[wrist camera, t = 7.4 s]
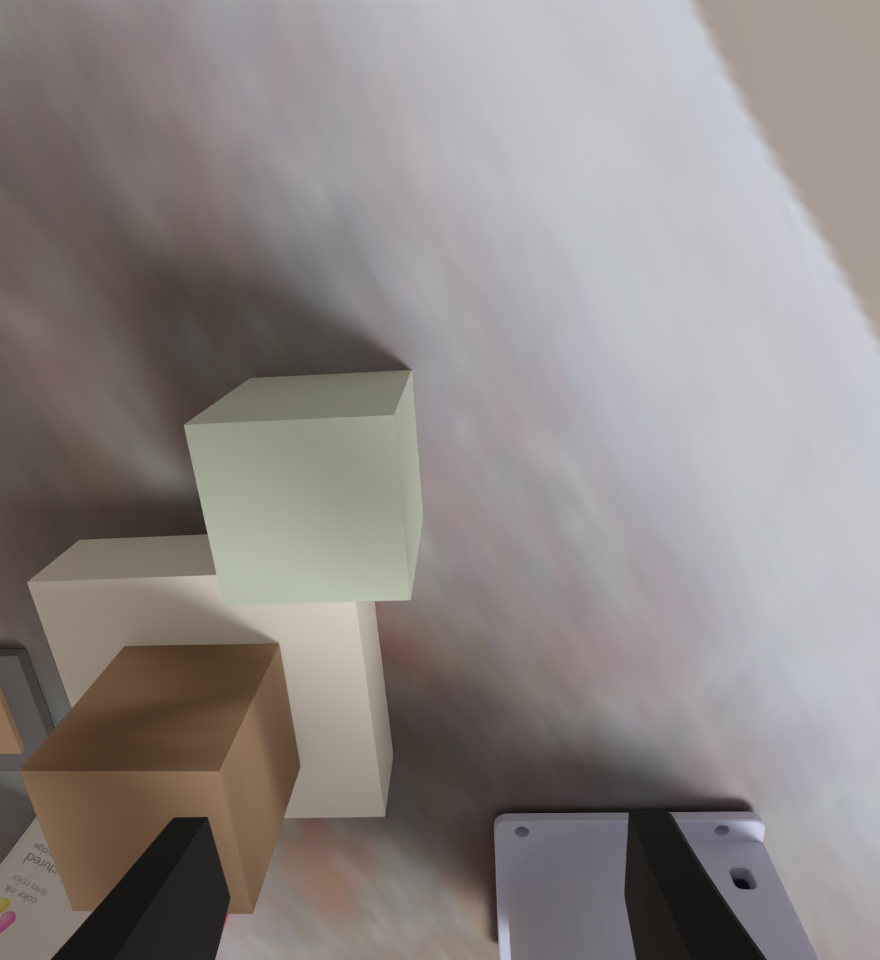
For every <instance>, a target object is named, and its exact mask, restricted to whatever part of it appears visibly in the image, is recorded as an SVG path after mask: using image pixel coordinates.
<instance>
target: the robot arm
mask: <svg viewBox="0 0 880 960" xmlns="http://www.w3.org/2000/svg"><path fill="white" fill-rule="evenodd" d="M520 827H522V828H520ZM764 831H765V826H764V823H763V821H762V819H761V818H760V816H759V815H758V814H756V813H754V812H668V811H667V810H629V813H507V814H502V815H500V816H498V817H497V818H496V819H495V821H494V842H495V867H496V893H497V919H498V945H499V958H500V960H819V959H818V957H817V955H816V953H815V951H814V949H813V947H812V945H811V943H810V941H809V938H808V936H807V934H806V932H805V930H804V928H803V926H802V924H801V922H800V920H799V917H798V915H797V913H796V911H795V909H794V907H793V905H792V903H791V901H790V899H789V896H788V894H787V892H786V890H785V888H784V886H783V884H782V882H781V880H780V878H779V875H778V873H777V871H776V869H775V867H774V865H773V863H772V861H771V859H770V857H769V855H768V852H767V850H766V848H765V846H764V844H763V843H762V842H763V837H764ZM230 898H231V897H230V893H229V890H228V886H227V883H226V879H225V876H224V872H223V869H222V865H221V862H220V858H219V855H218V851H217V847H216V844H215V840H214V837H213V833H212V830H211V826H210V823H209V819H208V817H174V818H173V819H172V820H171V821H170V822H169V823H168V824H167V825H166V827H165V828H164V829H163V830H162V831H161V832H160V834H159V835H158V836H157V837H156V838H155V839H154V841H153V842H152V843H151V844H150V845H149V847H148V848H147V849H146V850H145V851H144V852H143V854H142V855H141V856H140V857H139V858H138V860H137V861H136V862H135V863H134V864H133V866H132V867H131V868H130V869H129V870H128V871H127V873H126V874H125V875H124V876H123V877H122V878H121V880H120V881H119V882H118V883H117V884H116V886H115V887H114V888H113V889H112V890H111V891H110V893H109V894H108V895H107V896H106V897H105V898H104V900H103V901H102V902H101V903H100V904H99V905H98V906H97V908H96V909H95V910H94V911H93V912H92V913H91V914H90V915H89V917H88V918H87V919H86V920H85V921H84V922H83V923H82V925H81V926H80V927H79V928H78V929H77V930H76V931H75V933H74V934H73V935H72V936H71V937H70V938H69V939H68V940H67V942H66V943H65V944H64V945H63V946H62V947H61V948H60V949H59V951H58V952H57V953H56V954H55V955H54V956H53V957H52V958H51V959H50V960H215V958H216V954H217V950H218V947H219V943H220V939H221V935H222V931H223V927H224V923H225V919H226V915H227V911H228V906H229V902H230Z"/></svg>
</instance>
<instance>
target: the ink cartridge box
mask: <svg viewBox="0 0 880 960" xmlns="http://www.w3.org/2000/svg"><path fill="white" fill-rule="evenodd" d="M92 912H93V911H73V909H72V906H71V904H70V901H69V899H68V896H67V894H66V891H65V888H64V886H63V883H62V881H61V878H60V876H59V873H58V870H57V868H56V865H55V863H54V860H53V857H52V855H51V852H50V850H49V847H48V845H47V842H46V839H45V837H44V834H43V832H42V829H41V827H40V824H39V821H38V819H37V816H36V818H35V819H34V820H33V822H32V823H31V825H30V826H29V827H28V828H27V830H26V831H25V832H24V834H23V835H22V836H21V838H20V839H19V840H18V842H17V843H16V844H15V846H14V847H13V848H12V850H11V851H10V852H9V854H8V855H7V856H6V858H5V859H4V860H3V862H2V863H1V864H0V960H50V959H51V958H52V957H53V956H54V955H55V954H56V953H57V952H58V951H59V949H60V948H61V947H62V946H63V945H64V944H65V943H66V942H67V940H68V939H69V938H70V937H71V936H72V935H73V934H74V933H75V931H76V930H77V929H78V928H79V927H80V926H81V925H82V923H83V922H84V921H85V920H86V919H87V918H88V917H89V915H90V914H91V913H92ZM228 915H229V913H227V915H226V919H225V923H226V921H227V918H228ZM225 923H224V926H225ZM223 929H224V927H223ZM222 932H223V931H222Z"/></svg>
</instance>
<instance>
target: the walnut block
mask: <svg viewBox="0 0 880 960" xmlns="http://www.w3.org/2000/svg"><path fill="white" fill-rule="evenodd" d="M299 769H300V760H299V755H298V749H297V743H296V737H295V732H294V726H293V720H292V714H291V709H290V703H289V697H288V691H287V685H286V680H285V674H284V668H283V662H282V657H281V651H280V645H279V644H220V645H157V646H124V647H123V648H122V649H121V651H120V652H119V653H118V654H117V655H116V657H115V658H114V659H113V660H112V661H111V662H110V664H109V665H108V666H107V667H106V668H105V670H104V671H103V672H102V673H101V674H100V676H99V677H98V678H97V679H96V680H95V681H94V683H93V684H92V685H91V686H90V687H89V689H88V690H87V691H86V692H85V693H84V695H83V696H82V697H81V698H80V699H79V701H78V702H77V703H76V704H75V705H74V706H73V708H72V709H71V710H70V711H69V712H68V714H67V715H66V716H65V717H64V718H63V720H62V721H61V722H60V723H59V724H58V726H57V727H56V728H55V729H54V730H53V731H52V733H51V734H50V735H49V736H48V737H47V739H46V740H45V741H44V742H43V743H42V745H41V746H40V747H39V748H38V749H37V750H36V752H35V753H34V754H33V755H32V756H31V758H30V759H29V760H28V761H27V762H26V764H25V765H24V766H23V767H22V768H21V770H20V771H19V772H20V775H21V778H22V780H23V783H24V785H25V788H26V790H27V793H28V796H29V798H30V801H31V803H32V806H33V808H34V811H35V814H36V816H37V819H38V821H39V824H40V827H41V829H42V832H43V834H44V837H45V839H46V842H47V845H48V847H49V850H50V852H51V855H52V857H53V860H54V863H55V865H56V868H57V870H58V873H59V876H60V878H61V881H62V883H63V886H64V888H65V891H66V894H67V896H68V899H69V901H70V904H71V906H72V909H73V911H94V910H95V909H96V908H97V906H98V905H99V904H100V903H101V902H102V901H103V900H104V898H105V897H106V896H107V895H108V894H109V893H110V891H111V890H112V889H113V888H114V887H115V886H116V884H117V883H118V882H119V881H120V880H121V878H122V877H123V876H124V875H125V874H126V873H127V871H128V870H129V869H130V868H131V867H132V866H133V864H134V863H135V862H136V861H137V860H138V858H139V857H140V856H141V855H142V854H143V852H144V851H145V850H146V849H147V848H148V847H149V845H150V844H151V843H152V842H153V841H154V839H155V838H156V837H157V836H158V835H159V834H160V832H161V831H162V830H163V829H164V828H165V827H166V825H167V824H168V823H169V822H170V821H171V820H172V819H173V818H174V817H208V819H209V823H210V826H211V830H212V833H213V837H214V840H215V844H216V847H217V851H218V855H219V858H220V862H221V865H222V869H223V872H224V876H225V879H226V883H227V886H228V890H229V893H230V897H231V898H230V902H229V906H228V911H227V913H233V914H253V911H254V908H255V905H256V902H257V899H258V896H259V893H260V890H261V887H262V884H263V881H264V877H265V874H266V871H267V868H268V865H269V862H270V859H271V856H272V853H273V850H274V847H275V843H276V840H277V837H278V834H279V831H280V828H281V825H282V822H283V819H284V816H285V813H286V810H287V806H288V803H289V800H290V797H291V794H292V791H293V788H294V785H295V782H296V779H297V776H298V773H299Z"/></svg>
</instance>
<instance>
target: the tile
mask: <svg viewBox="0 0 880 960" xmlns="http://www.w3.org/2000/svg"><path fill="white" fill-rule="evenodd" d="M54 729H55V728H54V725H53V722H52V720H51V717H50V714H49V711H48V709H47V706H46V703H45V701H44V698H43V695H42V692H41V690H40V687H39V684H38V681H37V679H36V676H35V673H34V671H33V668H32V665H31V662H30V660H29V657H28V654H27V652H26V649H0V771H20V770H21V768H22V767H23V766H24V765H25V764H26V762H27V761H28V760H29V759H30V758H31V756H32V755H33V754H34V753H35V752H36V750H37V749H38V748H39V747H40V746H41V745H42V743H43V742H44V741H45V740H46V739H47V737H48V736H49V735H50V734H51V733H52V731H53V730H54Z"/></svg>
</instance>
